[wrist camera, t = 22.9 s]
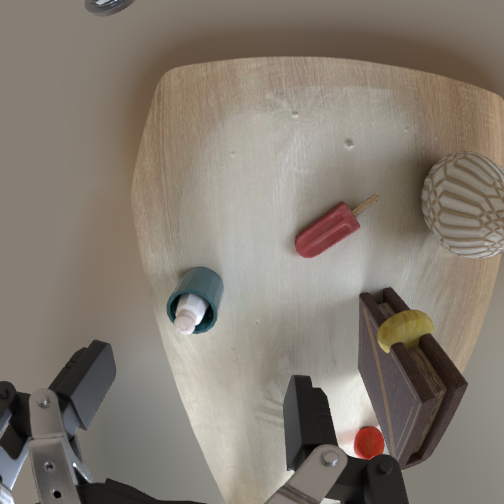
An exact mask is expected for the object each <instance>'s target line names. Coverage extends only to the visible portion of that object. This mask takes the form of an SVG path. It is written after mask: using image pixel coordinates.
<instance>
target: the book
mask: <svg viewBox="0 0 504 504" xmlns="http://www.w3.org/2000/svg"><path fill="white" fill-rule="evenodd" d="M359 300H360V320H359V356H358V369H359V372H360V374H361V377H362V379H363V382H364V385H365V387H366V390H367V392H368V395H369V398H370V400H371V403H372V406H373V408H374V411H375V414H376V417H377V419H378V422H379V425H380V428H381V431H382V433H383V436H384V439H385V442H386V445H387V448H388V451H389V454H390V456H392V457H394V458H395V459H396V460H397V461H398V463H399V465H400V469H401V470H404V469H407V468H409V467H412V466H414V465H417V464H419V463H421V462H423V461H425V460H426V459H427V458H429V457H430V456H431V455H432V453H433V451H434V450H435V448H436V446H437V445H438V443H439V441H440V440H441V438H442V436H443V434H444V433H445V431H446V429H447V427H448V425H449V424H450V422H451V420H452V418H453V416H454V414H455V412H456V410H457V408H458V406H459V404H460V401H461V399H462V397H463V395H464V393H465V390H466V388H467V386H468V383H467V382H466V380H465V379H464V377H463V376H462V375H461V373H460V372H459V370H458V369H457V368H456V366H455V365H454V364H453V362H452V361H451V360H450V358H449V357H448V356H447V354H446V353H445V352H444V350H443V349H442V348H441V346H440V345H439V344H438V343H437V341H436V340H435V339H434V338H433V336H432V333H433V330H434V326H433V322H432V321H431V319H430V318H429V317H428V316H427V314H425V313H423V312H421V311H419V310H411V309H410V308H409V307H408V306H407V305H406V304H405V302H404V301H403V300H402V299H401V298H400V297H399V295H398V294H397V293H396V292H395V291H394V290H393V289H392V288H391V287H389V288H385V289H384V290H383V304H378V305H377V304H376V302H375V301H374V300H373V298H372V297H371V295H370V294H369V293H368V292H366V293H361V294H360V296H359Z"/></svg>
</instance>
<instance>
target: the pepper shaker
mask: <svg viewBox="0 0 504 504" xmlns="http://www.w3.org/2000/svg"><path fill="white" fill-rule="evenodd" d="M209 305H210V303H209V302H208V301H207V300H206V299H205V298H204V297H202V296H200V295H198V294H196V293H187V292H186V293H182V294H181V297H180V300H179V303H178V307H177V311H176V315H175V316H176V319H175V320H174V327H175V329H176V330H177V331H178V332H180V333H182V334H190V333H192V332H193V331H194V329H195V325H197V324H199V323H200V321H201V320H202V318H203V316H204V314H205V312H206V310H207V309H208V307H209Z"/></svg>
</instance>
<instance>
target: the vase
mask: <svg viewBox="0 0 504 504" xmlns="http://www.w3.org/2000/svg"><path fill="white" fill-rule="evenodd" d="M421 203H422V211H423V215H424V219H425V221H426V224H427V226H428V228H429V230H430V232H431V234H432V235H433V237H434V238H435V239H436V240H437V241H438V242H439V243H440V244H441V245H442V246H443V247H444V248H445V249H447V250H448V251H450V252H451V253H453V254H456V255H458V256H462V257H466V258H476V259H478V258H487V257H491V256H494V255H497V254H499V253H501V252H503V251H504V170H503V169H502V168H501V167H500V166H499V165H498V164H496V163H495V162H494V161H492V160H490V159H489V158H487V157H485V156H483V155H481V154H478V153H475V152H470V151H462V152H455V153H452V154H449V155H447V156H445V157H443V158H442V159H440V160H439V161H438V162H437V163H436V164H435V165H434V166H433V167H432V168H431V170H430V171H429V173H428V175H427V177H426V179H425V181H424V184H423V189H422V197H421Z"/></svg>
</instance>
